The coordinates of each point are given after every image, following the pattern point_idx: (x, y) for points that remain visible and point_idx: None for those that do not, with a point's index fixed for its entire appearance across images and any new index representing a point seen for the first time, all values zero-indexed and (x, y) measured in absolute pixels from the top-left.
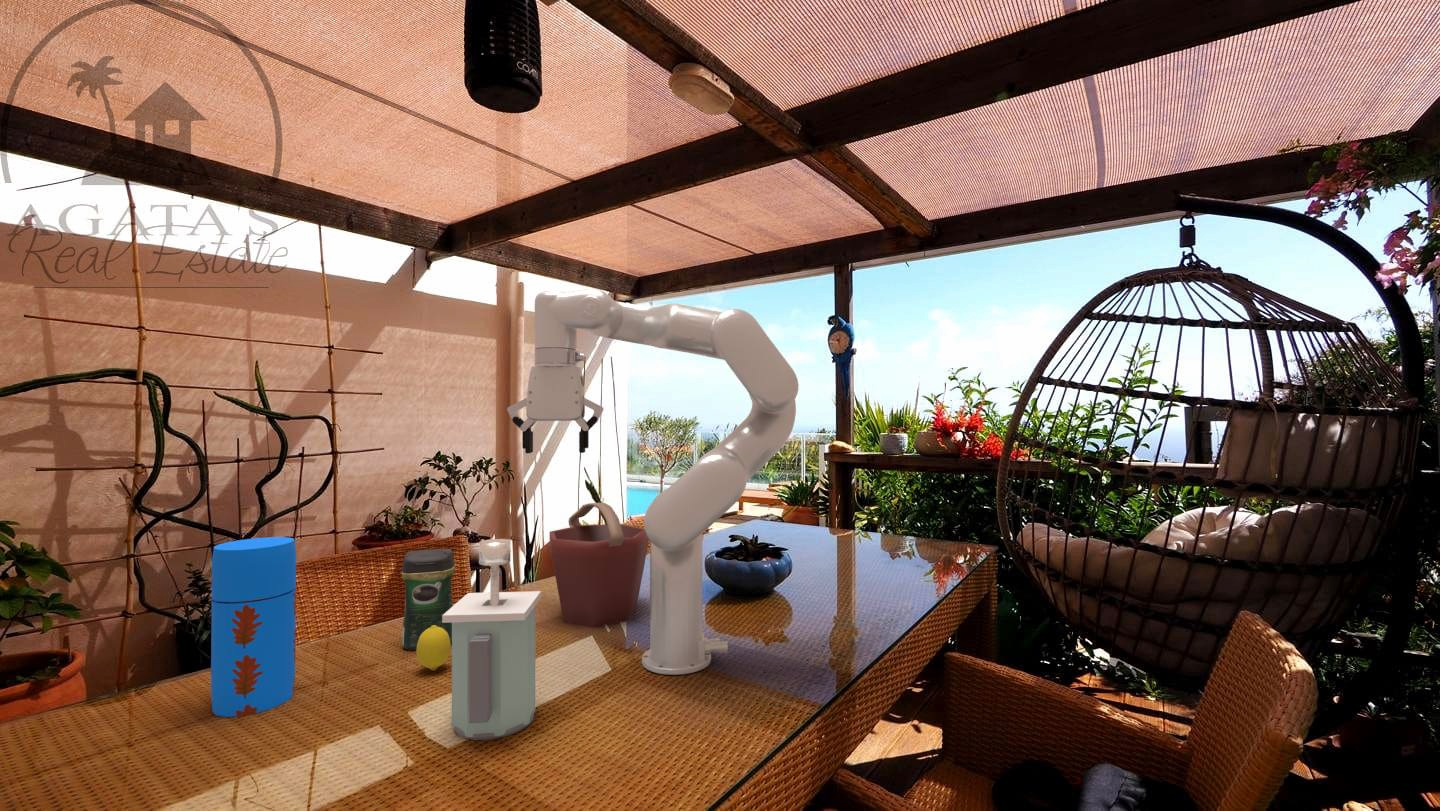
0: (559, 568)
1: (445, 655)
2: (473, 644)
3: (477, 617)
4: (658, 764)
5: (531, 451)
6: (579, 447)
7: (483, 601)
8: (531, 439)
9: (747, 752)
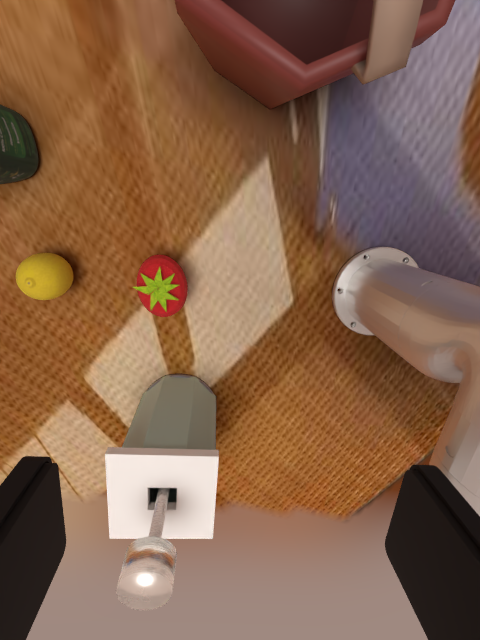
0: (203, 40)
1: (71, 284)
2: None
3: None
4: (320, 480)
5: (59, 502)
6: (400, 579)
7: (144, 493)
8: (7, 602)
9: (387, 472)
